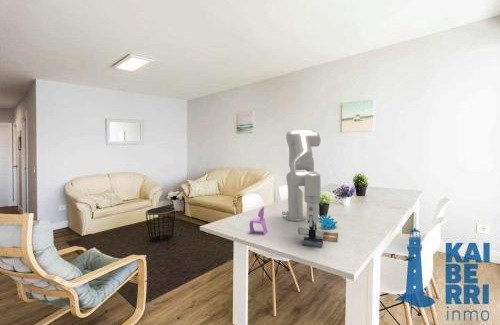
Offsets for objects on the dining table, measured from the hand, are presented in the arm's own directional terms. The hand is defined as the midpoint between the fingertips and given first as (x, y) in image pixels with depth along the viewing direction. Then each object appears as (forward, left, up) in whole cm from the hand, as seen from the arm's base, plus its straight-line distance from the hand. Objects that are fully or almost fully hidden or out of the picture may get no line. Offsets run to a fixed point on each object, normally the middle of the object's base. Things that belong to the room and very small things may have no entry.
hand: (312, 236), depth 121 cm
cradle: (0, 0, -4) cm, 4 cm away
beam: (+4, +11, -4) cm, 12 cm away
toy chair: (-31, +9, -5) cm, 33 cm away
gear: (+5, +28, -5) cm, 29 cm away
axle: (-1, 0, 0) cm, 1 cm away
